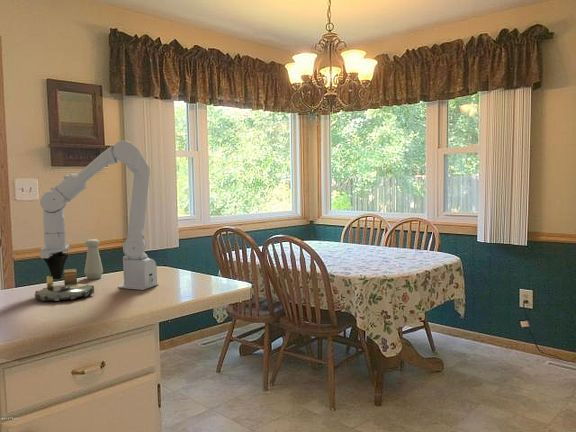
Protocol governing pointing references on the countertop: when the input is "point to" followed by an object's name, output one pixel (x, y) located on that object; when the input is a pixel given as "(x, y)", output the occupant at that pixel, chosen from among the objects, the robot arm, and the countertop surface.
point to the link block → (70, 276)
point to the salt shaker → (93, 260)
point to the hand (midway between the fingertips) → (57, 278)
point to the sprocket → (63, 291)
